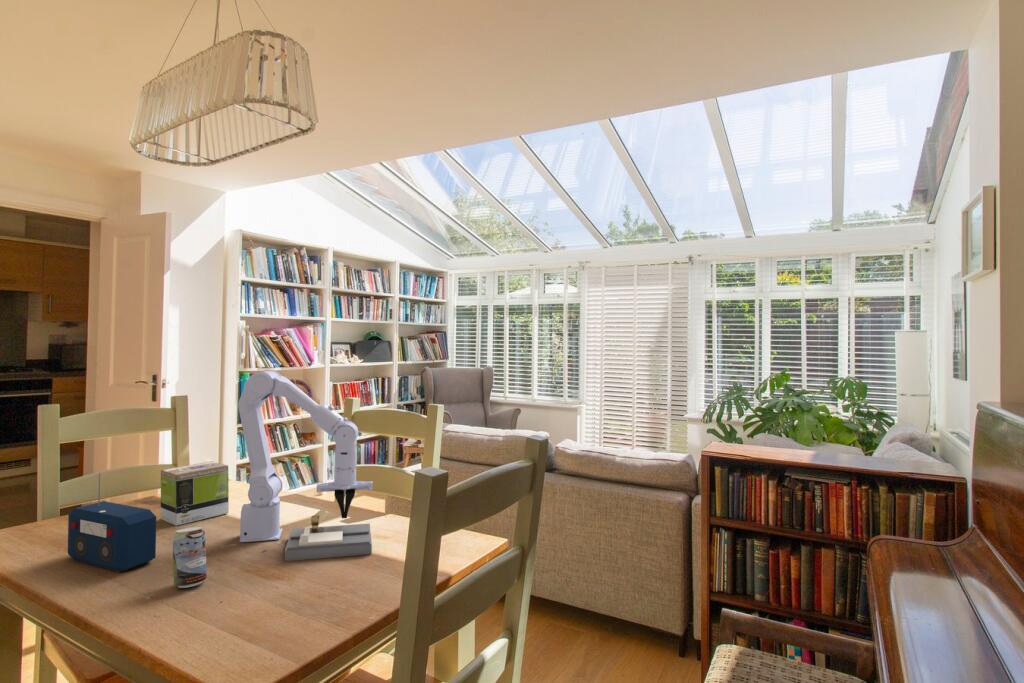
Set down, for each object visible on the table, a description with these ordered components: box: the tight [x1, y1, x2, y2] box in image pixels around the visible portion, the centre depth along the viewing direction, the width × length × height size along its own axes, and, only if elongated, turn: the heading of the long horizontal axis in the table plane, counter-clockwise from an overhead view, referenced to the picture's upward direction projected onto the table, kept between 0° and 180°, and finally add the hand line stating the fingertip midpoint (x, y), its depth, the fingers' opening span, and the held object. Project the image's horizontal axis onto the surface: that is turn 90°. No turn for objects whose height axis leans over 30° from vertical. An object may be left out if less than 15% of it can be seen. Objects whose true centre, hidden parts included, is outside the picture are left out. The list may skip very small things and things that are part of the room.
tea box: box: [160, 460, 230, 527], centre depth 164 cm, size 15×10×15 cm, turn 144°
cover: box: [299, 527, 343, 546], centre depth 139 cm, size 10×6×3 cm, turn 106°
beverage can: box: [172, 526, 208, 589], centre depth 119 cm, size 6×7×12 cm
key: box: [310, 509, 327, 531], centre depth 149 cm, size 7×2×4 cm, turn 178°
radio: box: [67, 473, 157, 573], centre depth 131 cm, size 21×9×20 cm, turn 68°
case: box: [284, 523, 373, 562], centre depth 143 cm, size 20×16×3 cm
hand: (344, 517), depth 152 cm, fingers closed
